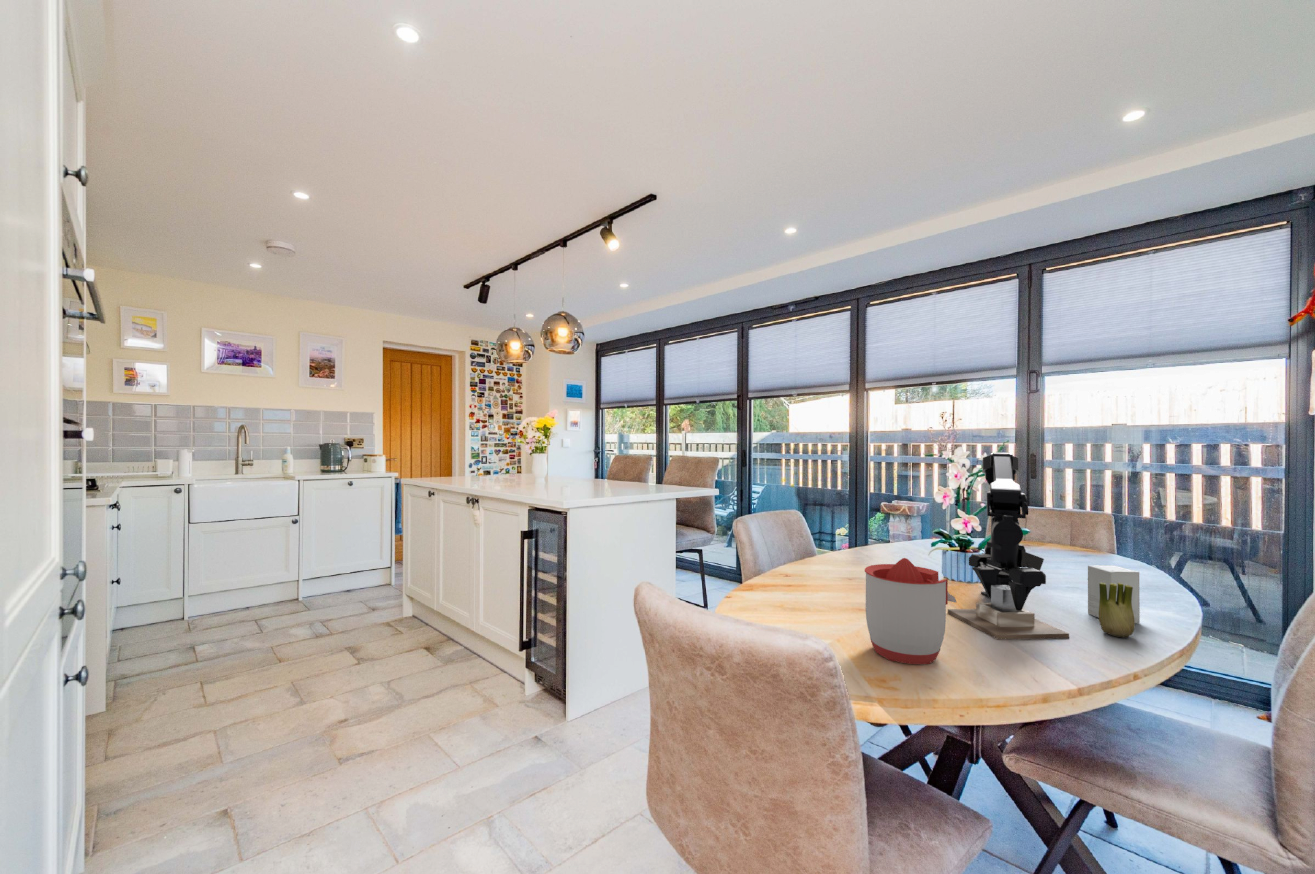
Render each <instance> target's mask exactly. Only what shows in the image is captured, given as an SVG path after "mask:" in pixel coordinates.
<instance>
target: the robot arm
mask: <svg viewBox="0 0 1315 874" xmlns="http://www.w3.org/2000/svg"><path fill="white" fill-rule="evenodd" d="M981 467H982V474H984V478H985V481H986V482H987V483H988V485H989V491H988V490H987V491H986V516H987V517H990V539H989V540H988V541H986V545H985V546H984V553H983V552H982V553H980V554H979V553H978V554H977V553H975V554H971V555H969V557H968V566H970V567H971V569H972V570H973V571H974V573H975V574H976V576H977V578H978V580H979V582H980V584H981V586H982V587H983V589H984V591H980V594H982V595H984V596H986V597H988V599H990V600H991V585H1008V586H1010V589H1011V593H1012V597H1013V601H1014V605H1015V608H1016V610H1022V609H1024V605H1025V604H1026V601H1027V599H1028V597H1029V595H1030V593H1031V592H1032V590H1033V589H1035V588H1036V587H1041V586H1042V585H1046V584H1047V575H1046V574H1045V572H1043V570H1041V569H1042V566H1043V563H1044V560H1045V559H1044V558H1043V557H1040V556H1037V555H1035V554H1032V553H1030V552H1027V550H1026V548H1025V546H1024V545H1023V544H1020V543H1021V542H1022V540H1023V538H1024V532H1023V530H1022V528H1021V526H1020V520H1019V519H1025V520H1026V519H1027V516H1029V503H1028V497H1027V496H1026V494H1025V492H1022V489H1021V485H1020V484H1019V483H1017V482H1015V480H1016V475H1018V473H1019V458H1018V457H1016V456H1014V454H1013V453H1010V452H992V453H990V454H989V455H986V456H984V457H982V465H981Z"/></svg>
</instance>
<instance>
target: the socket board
mask: <svg viewBox="0 0 1315 874" xmlns="http://www.w3.org/2000/svg"><path fill="white" fill-rule="evenodd" d="M975 604H976V606H975V607H976V608H948V609H947V614H948V613H949V615H951V616H952V617H954V618H957V619H958V620H960V621H962V622H963V621H964V623H965V622H966V624H967V625H969V624H970V625H969V626H972V627H973V628H975V629H977V630H979V631H981V632H982V633H984V632H985V633H984V634H986V635H988V636H990V637H992V638H994V639H996V640H1032V639H1034V640H1036V639H1037V640H1041V639H1043V640H1044V639H1070V633H1068V632H1066V631H1064V630H1062V629H1060V628H1057V627H1054V626H1053V625H1050V624H1048V623H1046V622H1043V621H1041V620H1039V619H1036V618H1035V617H1036V616H1035V612H1031V611H1029V610H1027V609H1025V608H1022V610H1019V612H1000V611H997V610H995V609H993V608H991V602H976V603H975Z"/></svg>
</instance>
